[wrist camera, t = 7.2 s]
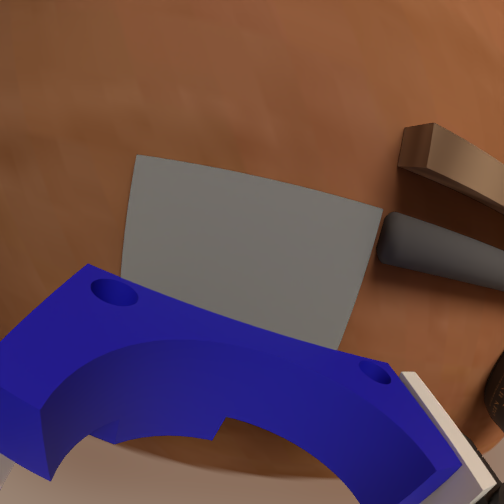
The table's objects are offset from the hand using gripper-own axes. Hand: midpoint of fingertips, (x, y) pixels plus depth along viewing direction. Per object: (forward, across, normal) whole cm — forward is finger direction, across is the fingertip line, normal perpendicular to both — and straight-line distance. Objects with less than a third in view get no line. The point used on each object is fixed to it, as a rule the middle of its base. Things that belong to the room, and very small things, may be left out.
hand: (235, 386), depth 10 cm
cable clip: (+1, 0, 0) cm, 1 cm away
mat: (+4, 0, +1) cm, 5 cm away
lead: (+4, +13, +7) cm, 15 cm away
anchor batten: (+5, +13, +10) cm, 17 cm away
